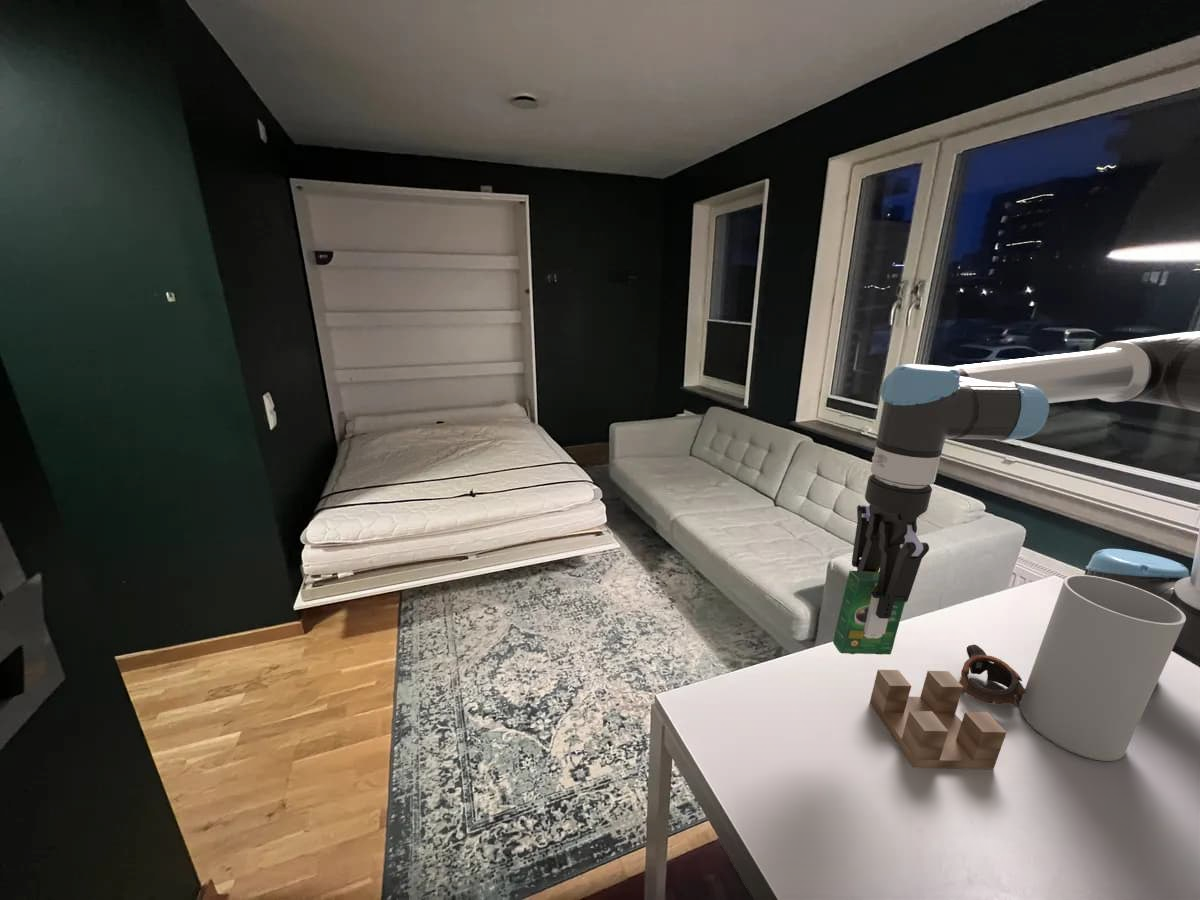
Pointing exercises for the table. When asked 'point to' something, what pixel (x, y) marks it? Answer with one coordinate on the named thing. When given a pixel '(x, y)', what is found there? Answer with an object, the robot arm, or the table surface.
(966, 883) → the table surface
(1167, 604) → the cylinder vase
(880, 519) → the robot arm
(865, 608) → the coffee box
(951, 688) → the walnut cross socket
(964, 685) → the brown ring-shaped frame
